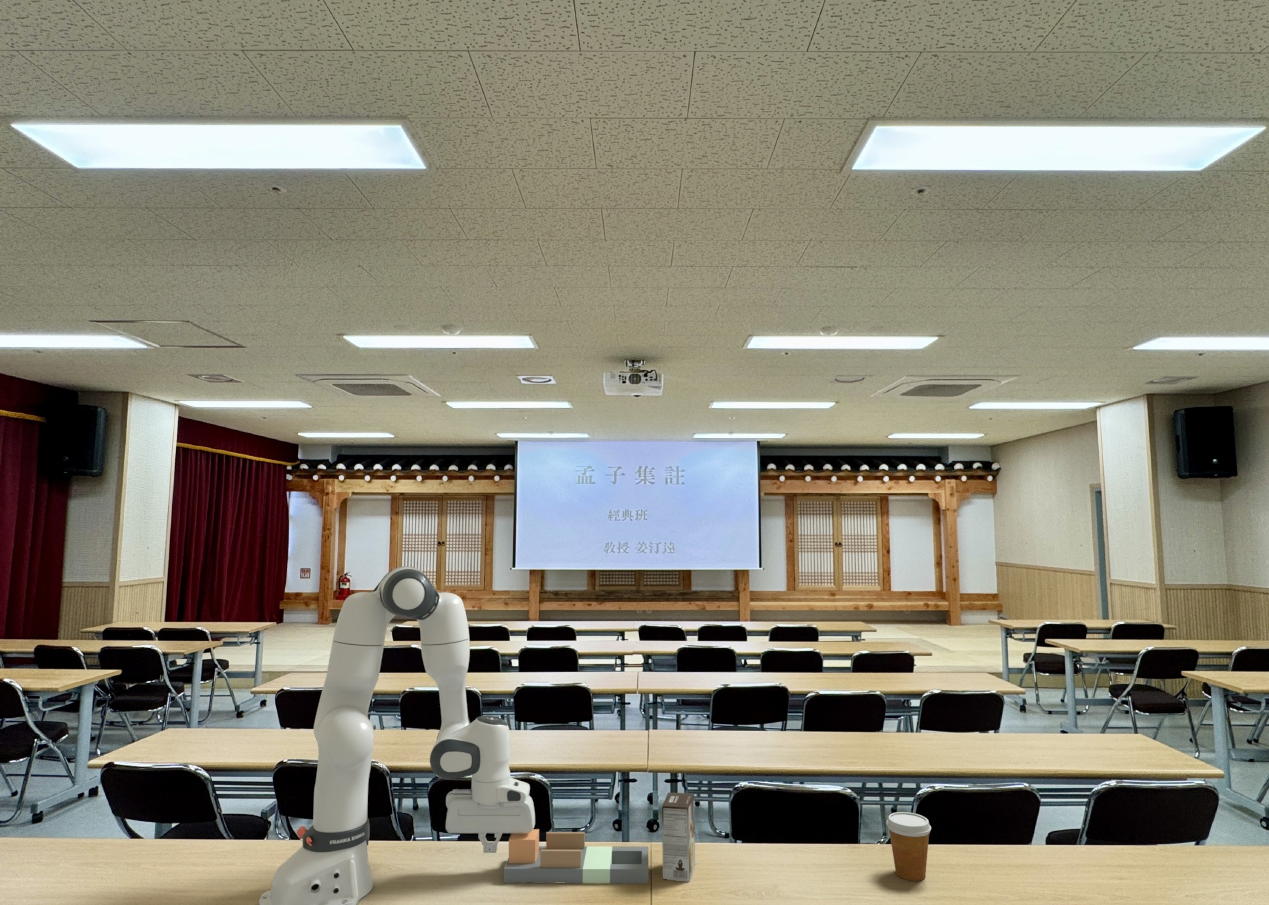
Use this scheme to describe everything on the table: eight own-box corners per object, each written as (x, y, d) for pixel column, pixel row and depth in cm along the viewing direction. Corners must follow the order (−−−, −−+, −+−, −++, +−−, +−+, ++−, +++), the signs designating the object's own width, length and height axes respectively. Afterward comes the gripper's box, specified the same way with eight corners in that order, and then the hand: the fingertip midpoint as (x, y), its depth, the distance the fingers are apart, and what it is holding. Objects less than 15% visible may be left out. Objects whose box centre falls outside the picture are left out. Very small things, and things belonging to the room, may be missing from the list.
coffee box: (668, 862, 178) (667, 791, 179) (695, 864, 176) (694, 792, 178) (662, 880, 169) (661, 805, 170) (690, 882, 168) (689, 807, 169)
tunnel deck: (503, 883, 168) (504, 852, 168) (513, 859, 180) (513, 830, 180) (648, 883, 167) (648, 852, 168) (648, 859, 179) (648, 830, 180)
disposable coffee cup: (882, 865, 176) (880, 811, 177) (923, 865, 176) (921, 811, 177) (896, 884, 166) (894, 827, 167) (940, 884, 166) (937, 827, 167)
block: (508, 862, 171) (508, 839, 171) (513, 851, 177) (513, 829, 177) (535, 862, 171) (535, 839, 171) (538, 851, 177) (539, 829, 177)
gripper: (442, 794, 173) (441, 857, 171) (532, 793, 172) (531, 857, 171) (449, 784, 179) (448, 846, 177) (536, 784, 179) (536, 846, 177)
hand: (490, 851), depth 174 cm, fingers closed
